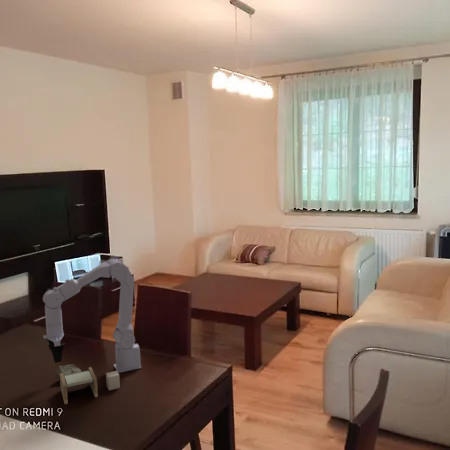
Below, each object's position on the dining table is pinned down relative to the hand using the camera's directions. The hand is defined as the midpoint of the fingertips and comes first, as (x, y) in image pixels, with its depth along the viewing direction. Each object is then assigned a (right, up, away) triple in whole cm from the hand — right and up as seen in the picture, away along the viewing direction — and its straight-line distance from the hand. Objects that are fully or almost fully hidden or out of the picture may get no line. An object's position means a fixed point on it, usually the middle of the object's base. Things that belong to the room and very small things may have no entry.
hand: (56, 358), depth 172 cm
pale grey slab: (+10, -8, -7) cm, 14 cm away
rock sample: (+4, -10, +5) cm, 12 cm away
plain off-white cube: (+22, -10, -2) cm, 24 cm away
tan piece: (+11, -11, -7) cm, 17 cm away
